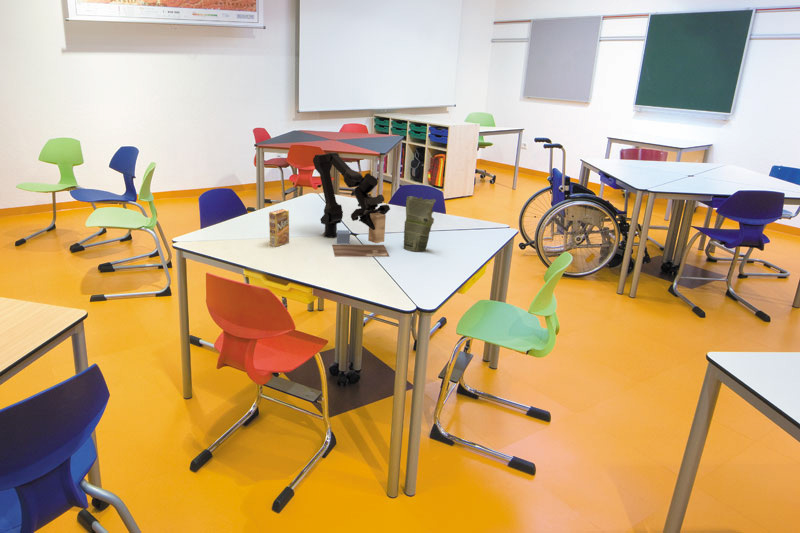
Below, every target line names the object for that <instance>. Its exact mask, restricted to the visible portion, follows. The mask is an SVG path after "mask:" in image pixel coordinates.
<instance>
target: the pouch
mask: <svg viewBox="0 0 800 533" xmlns="http://www.w3.org/2000/svg"><path fill="white" fill-rule="evenodd" d="M436 202H437V200H436V199H435V198H431V199H427V198H425V199H423V196H420V197H416V196H412V195H409V196H406V202H405V217H406V219H405V221H404V226H403V227H404V229H403V231H404V232H403V234H404V235H403V249H404V250H406V251H409V252H412V253H413V252H414V253H416V252H417V253H419V252H423V253H424V252H425V251H426V249H427V247H428V243H429V239H430V232H431V229H432V226H433V225H434V223H435V222H434V221H435V219H434V217H433V213H434V211H433V207H434V206H435V203H436Z"/></svg>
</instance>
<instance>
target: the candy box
mask: <svg viewBox="0 0 800 533" xmlns="http://www.w3.org/2000/svg"><path fill="white" fill-rule="evenodd" d="M268 219H269V222H268V223H269V224H268V225H269V245H270V246H272V247H275V248H277V247H280V246H282V245H285V244H289V243H290V211H289V210H287V209H283V208H281V209H278V210H274V211H270V212H268Z"/></svg>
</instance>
